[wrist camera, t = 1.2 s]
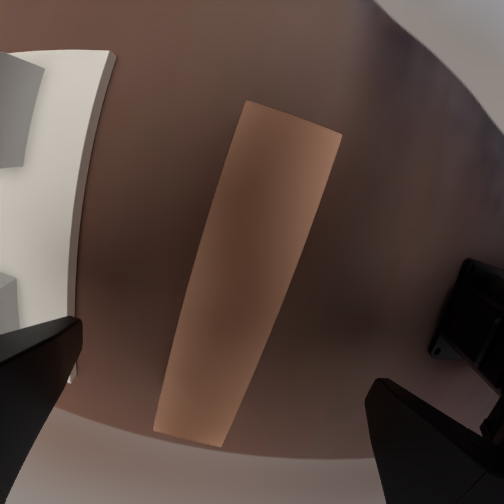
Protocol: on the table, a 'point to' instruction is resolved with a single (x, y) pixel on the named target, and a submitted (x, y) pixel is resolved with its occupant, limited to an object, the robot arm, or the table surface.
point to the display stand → (45, 177)
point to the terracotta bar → (243, 268)
